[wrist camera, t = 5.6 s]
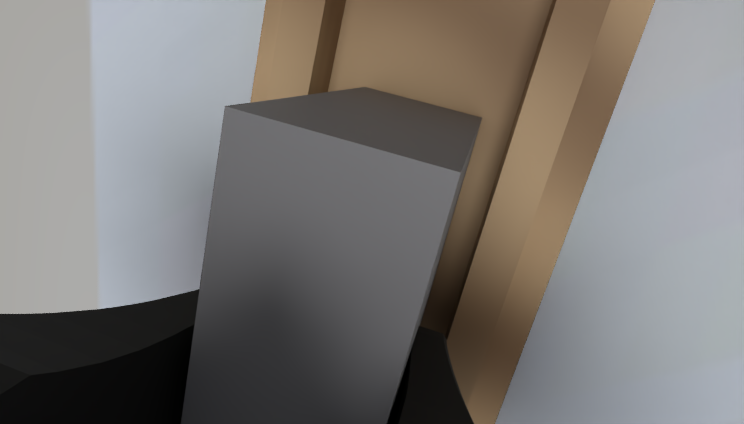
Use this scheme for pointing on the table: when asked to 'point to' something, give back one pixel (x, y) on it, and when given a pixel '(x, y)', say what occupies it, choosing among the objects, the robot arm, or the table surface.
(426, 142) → the grey rectangular prism
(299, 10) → the wooden tray
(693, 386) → the table surface
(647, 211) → the table surface
